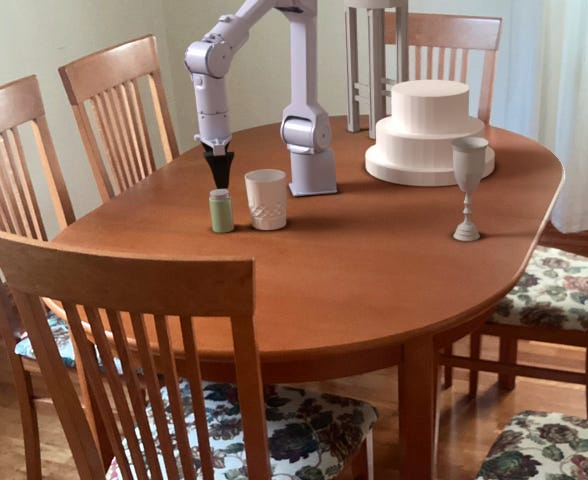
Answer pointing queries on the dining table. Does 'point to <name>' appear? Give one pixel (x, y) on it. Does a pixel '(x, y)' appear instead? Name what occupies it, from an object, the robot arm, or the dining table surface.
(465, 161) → the chalice
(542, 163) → the dining table surface
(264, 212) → the white cup
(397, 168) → the cake
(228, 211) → the salt shaker
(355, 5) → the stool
